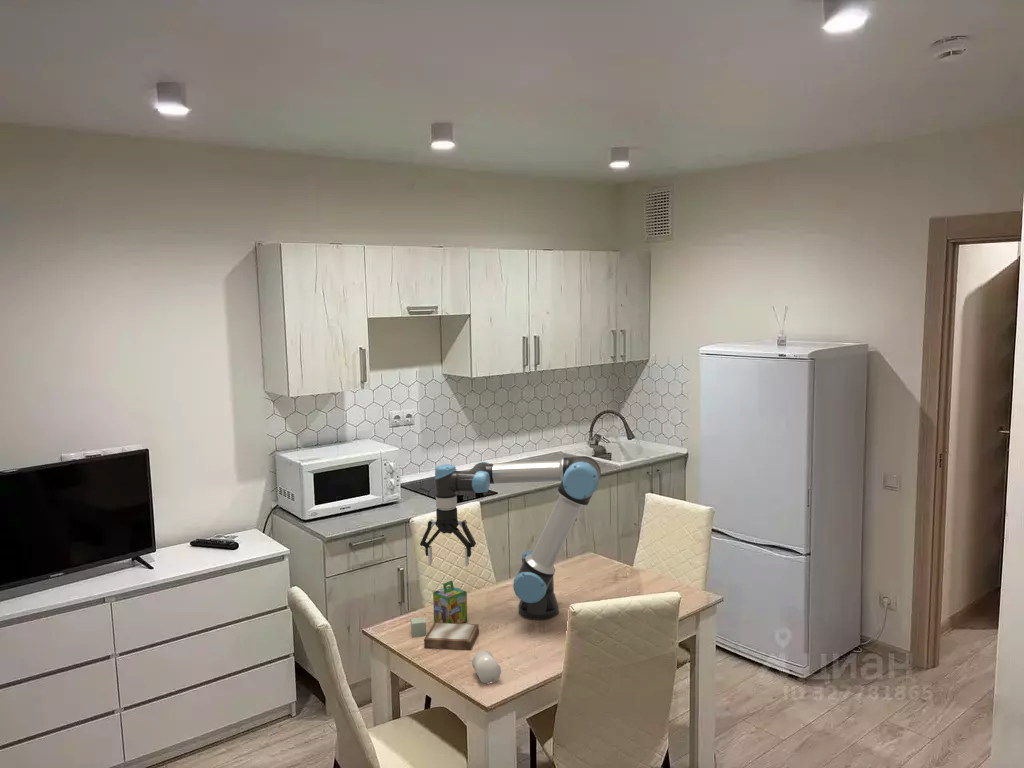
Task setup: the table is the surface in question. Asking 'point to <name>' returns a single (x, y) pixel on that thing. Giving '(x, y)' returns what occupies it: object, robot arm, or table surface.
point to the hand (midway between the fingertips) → (448, 564)
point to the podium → (451, 636)
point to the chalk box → (450, 604)
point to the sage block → (418, 627)
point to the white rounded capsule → (486, 666)
